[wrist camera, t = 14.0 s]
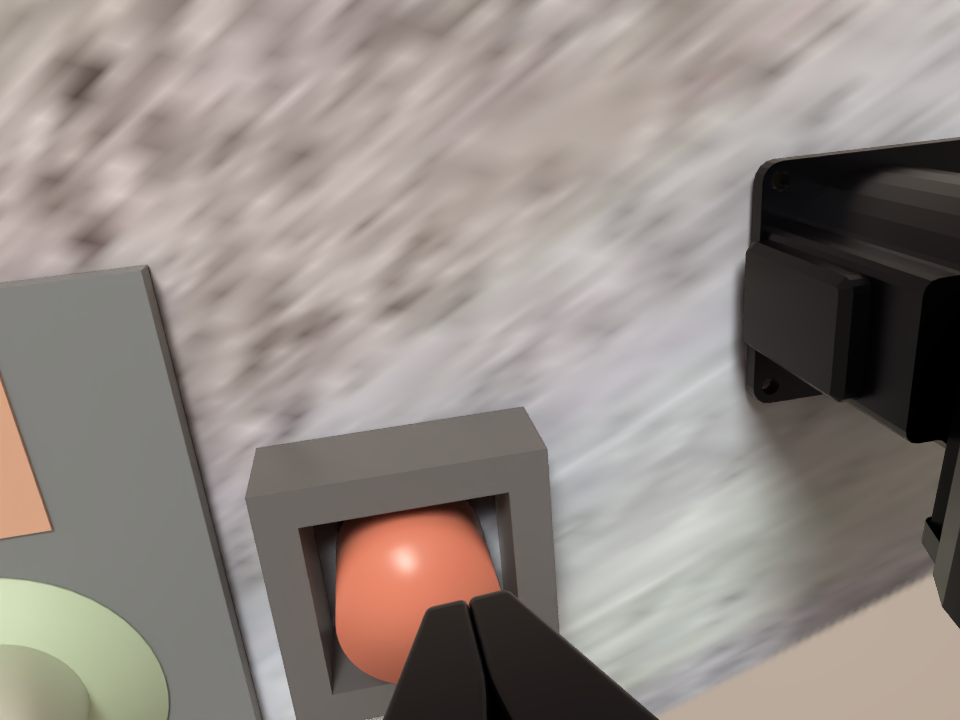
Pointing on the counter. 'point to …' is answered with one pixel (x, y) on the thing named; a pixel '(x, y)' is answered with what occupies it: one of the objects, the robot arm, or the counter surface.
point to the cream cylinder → (39, 687)
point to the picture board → (110, 506)
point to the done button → (404, 579)
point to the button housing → (383, 489)
